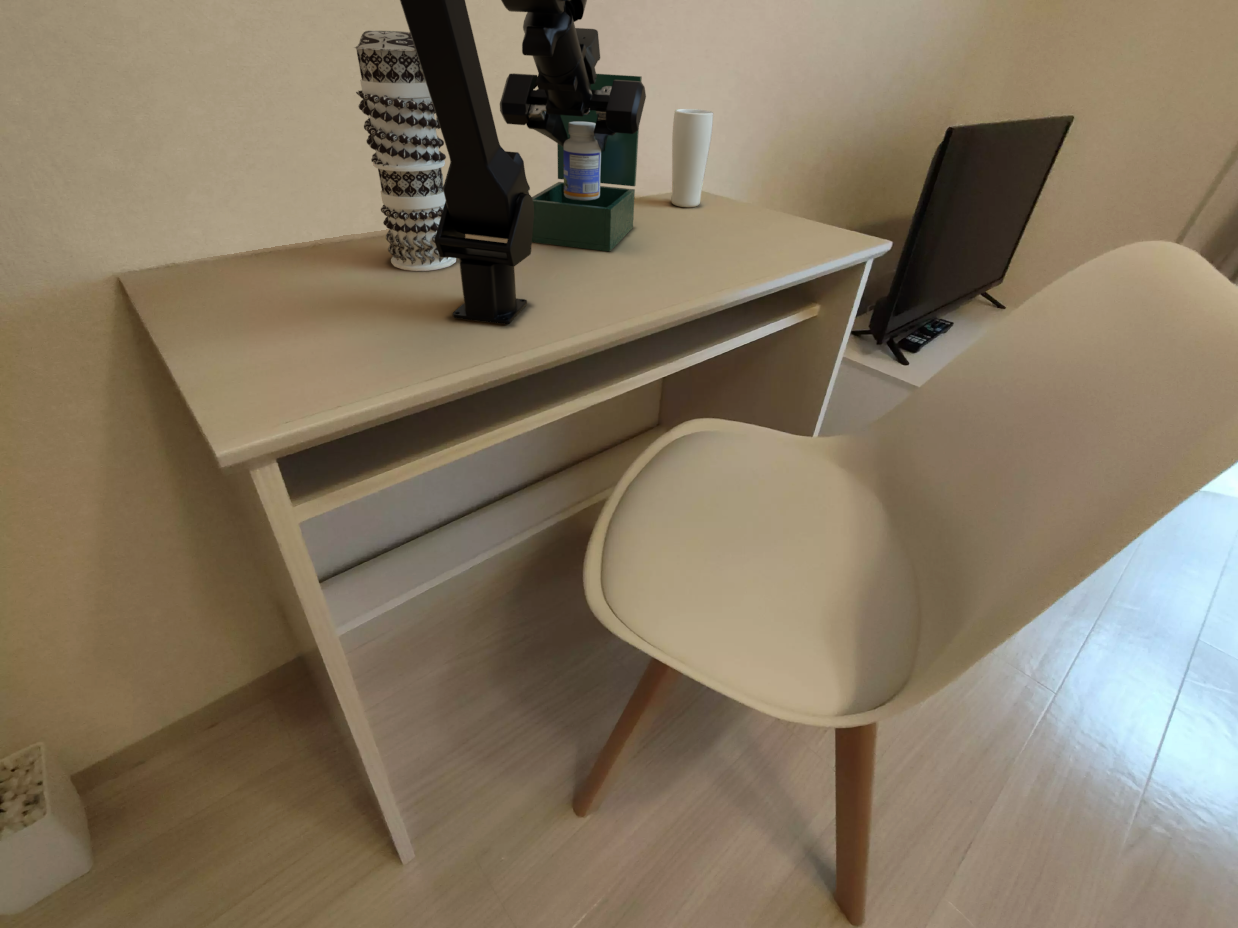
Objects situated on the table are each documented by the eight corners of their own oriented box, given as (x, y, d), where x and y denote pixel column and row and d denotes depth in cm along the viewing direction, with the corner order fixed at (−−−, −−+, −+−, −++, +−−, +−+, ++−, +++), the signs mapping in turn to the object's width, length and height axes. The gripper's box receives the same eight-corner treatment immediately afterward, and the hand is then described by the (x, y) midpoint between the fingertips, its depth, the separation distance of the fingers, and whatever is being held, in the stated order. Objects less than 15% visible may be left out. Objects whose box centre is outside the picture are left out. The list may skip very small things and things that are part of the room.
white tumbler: (660, 201, 113) (667, 109, 104) (691, 199, 116) (700, 108, 107) (678, 210, 108) (686, 114, 100) (710, 207, 111) (721, 113, 102)
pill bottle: (567, 192, 93) (566, 120, 87) (602, 194, 93) (603, 122, 87) (560, 200, 89) (559, 124, 83) (597, 202, 88) (598, 126, 83)
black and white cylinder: (372, 264, 79) (324, 29, 65) (420, 246, 86) (387, 30, 72) (428, 276, 76) (391, 33, 62) (473, 257, 83) (449, 33, 69)
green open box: (609, 251, 87) (610, 209, 84) (528, 241, 90) (525, 200, 86) (633, 227, 98) (634, 189, 95) (559, 219, 101) (558, 181, 97)
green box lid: (640, 76, 86) (647, 76, 90) (556, 71, 89) (566, 71, 92) (634, 186, 94) (641, 182, 98) (557, 179, 97) (566, 175, 100)
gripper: (647, 2, 72) (659, 102, 87) (502, -3, 76) (538, 94, 91) (627, 83, 71) (643, 171, 86) (479, 74, 74) (520, 160, 89)
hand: (585, 147), depth 88 cm, fingers closed on pill bottle, 5 cm apart
